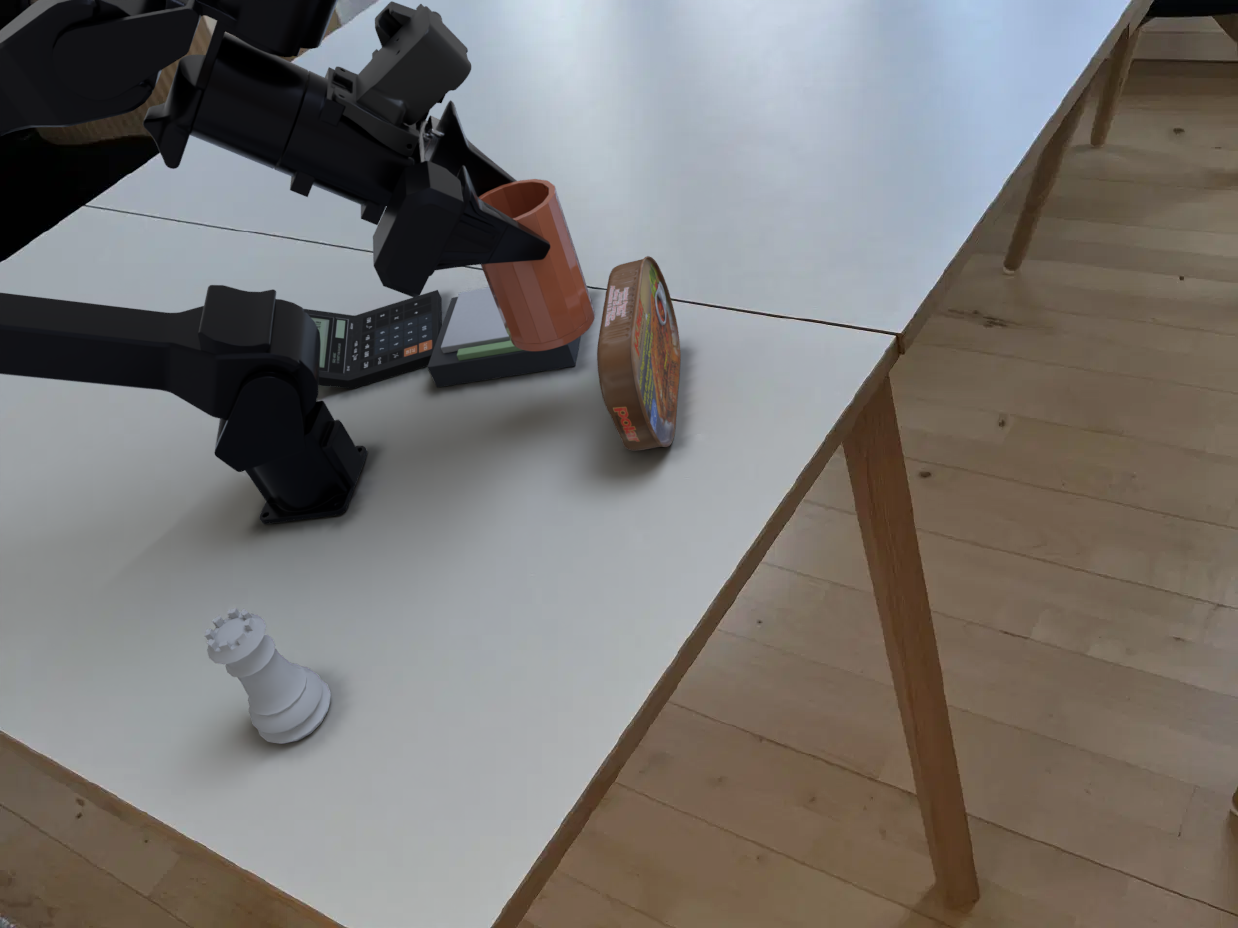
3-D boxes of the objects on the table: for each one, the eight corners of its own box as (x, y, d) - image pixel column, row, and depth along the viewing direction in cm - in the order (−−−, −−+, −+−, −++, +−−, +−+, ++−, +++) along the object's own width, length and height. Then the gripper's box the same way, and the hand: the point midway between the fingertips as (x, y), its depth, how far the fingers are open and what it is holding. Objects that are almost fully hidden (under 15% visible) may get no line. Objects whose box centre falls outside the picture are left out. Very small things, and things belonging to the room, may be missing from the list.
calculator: (442, 361, 83) (428, 330, 81) (302, 404, 84) (284, 375, 82) (441, 298, 90) (428, 268, 88) (312, 338, 91) (296, 309, 89)
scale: (436, 387, 81) (423, 361, 79) (460, 317, 87) (448, 291, 85) (575, 366, 78) (565, 338, 76) (589, 295, 84) (579, 267, 83)
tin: (671, 474, 67) (638, 370, 61) (623, 480, 68) (586, 378, 62) (684, 329, 78) (656, 230, 72) (642, 336, 78) (612, 238, 73)
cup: (552, 359, 67) (506, 231, 61) (493, 341, 71) (444, 219, 65) (612, 310, 70) (573, 184, 64) (552, 295, 73) (510, 175, 68)
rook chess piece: (315, 667, 63) (249, 580, 58) (347, 710, 60) (281, 622, 55) (249, 716, 61) (175, 631, 56) (278, 763, 58) (204, 677, 53)
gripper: (343, 42, 48) (635, 180, 55) (346, -62, 62) (579, 58, 69) (261, 245, 54) (537, 349, 60) (282, 107, 68) (503, 203, 75)
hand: (540, 228), depth 66 cm, fingers closed on cup, 6 cm apart
